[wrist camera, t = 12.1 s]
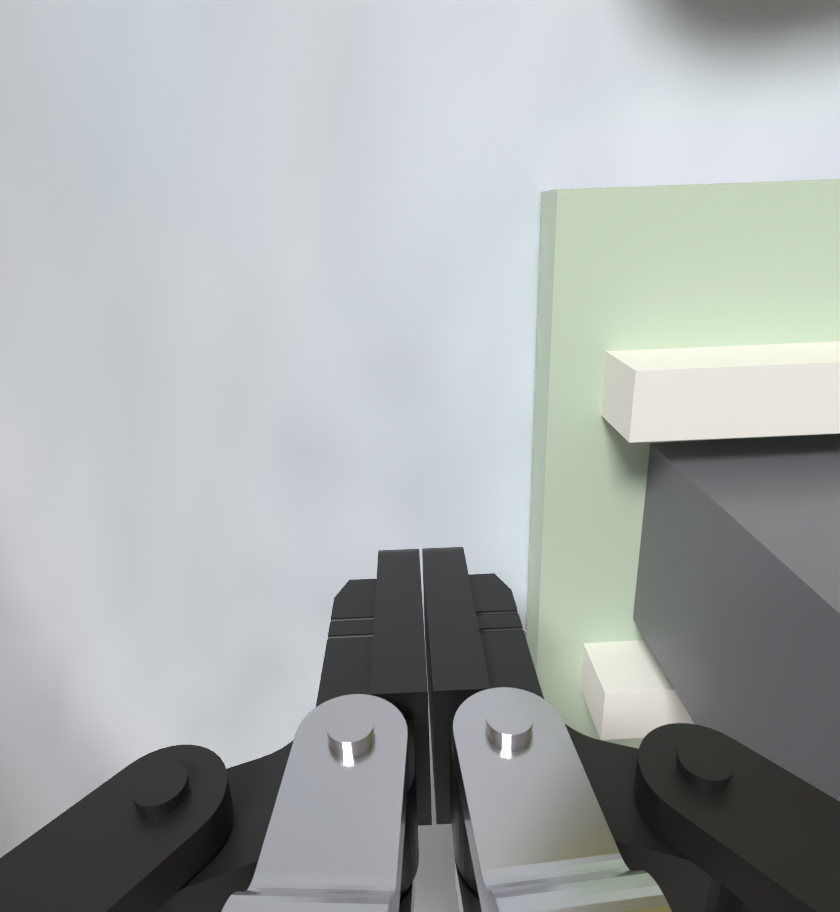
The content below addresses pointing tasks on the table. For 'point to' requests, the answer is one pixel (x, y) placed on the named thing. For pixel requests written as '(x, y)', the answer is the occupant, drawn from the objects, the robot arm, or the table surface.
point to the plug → (749, 592)
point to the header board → (659, 398)
